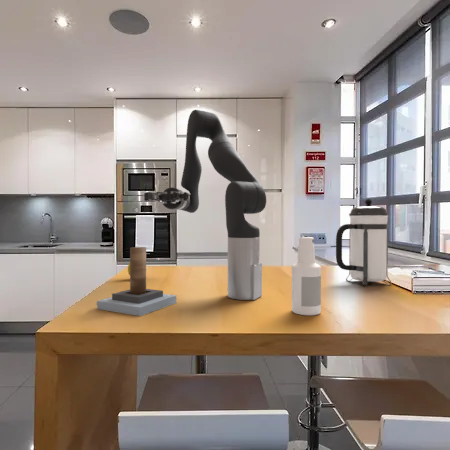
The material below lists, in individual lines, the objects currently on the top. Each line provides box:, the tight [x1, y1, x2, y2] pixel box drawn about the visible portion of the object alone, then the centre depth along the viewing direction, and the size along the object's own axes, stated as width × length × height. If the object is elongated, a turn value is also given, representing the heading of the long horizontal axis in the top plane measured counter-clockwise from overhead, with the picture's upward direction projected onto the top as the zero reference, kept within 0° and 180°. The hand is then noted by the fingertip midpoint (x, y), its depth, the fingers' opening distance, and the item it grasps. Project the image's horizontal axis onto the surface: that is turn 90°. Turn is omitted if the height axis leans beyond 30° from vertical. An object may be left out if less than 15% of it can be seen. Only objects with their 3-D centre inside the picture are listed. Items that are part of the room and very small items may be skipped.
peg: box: [129, 246, 147, 295], centre depth 86 cm, size 4×4×15 cm
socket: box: [96, 288, 177, 317], centre depth 85 cm, size 14×14×4 cm
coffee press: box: [335, 198, 392, 287], centre depth 117 cm, size 17×16×30 cm
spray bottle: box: [291, 236, 322, 316], centre depth 80 cm, size 7×7×18 cm
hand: (160, 195), depth 102 cm, fingers open, 8 cm apart
